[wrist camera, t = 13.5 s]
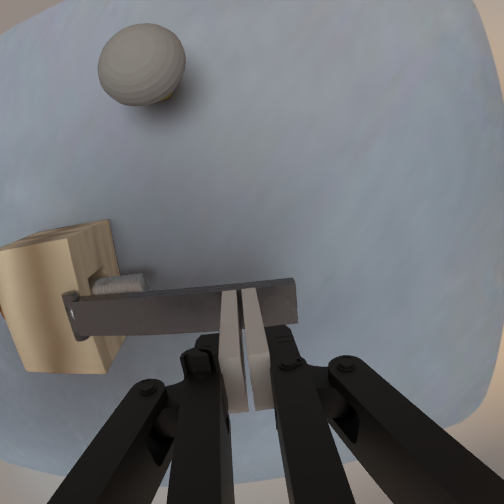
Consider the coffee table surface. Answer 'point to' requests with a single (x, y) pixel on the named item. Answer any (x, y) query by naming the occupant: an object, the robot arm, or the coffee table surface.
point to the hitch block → (56, 296)
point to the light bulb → (141, 65)
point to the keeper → (174, 309)
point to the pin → (116, 285)
